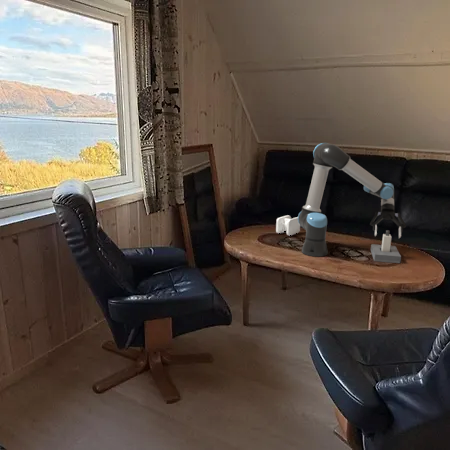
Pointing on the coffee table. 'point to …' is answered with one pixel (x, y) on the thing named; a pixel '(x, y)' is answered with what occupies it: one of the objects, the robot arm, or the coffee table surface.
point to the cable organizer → (287, 225)
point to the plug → (386, 242)
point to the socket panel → (385, 254)
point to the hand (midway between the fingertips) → (387, 236)
